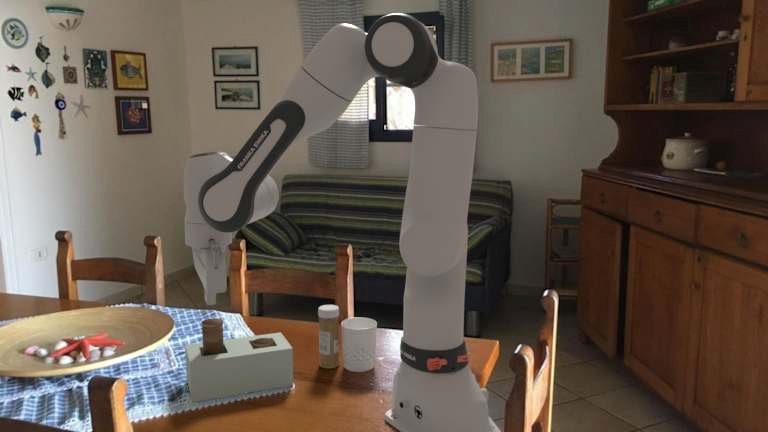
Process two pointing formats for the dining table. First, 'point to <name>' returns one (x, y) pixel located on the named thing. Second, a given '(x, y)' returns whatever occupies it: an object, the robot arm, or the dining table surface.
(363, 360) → the white cup
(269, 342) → the peg
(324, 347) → the sprinkles bottle
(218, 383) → the block
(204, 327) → the peg
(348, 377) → the dining table surface
